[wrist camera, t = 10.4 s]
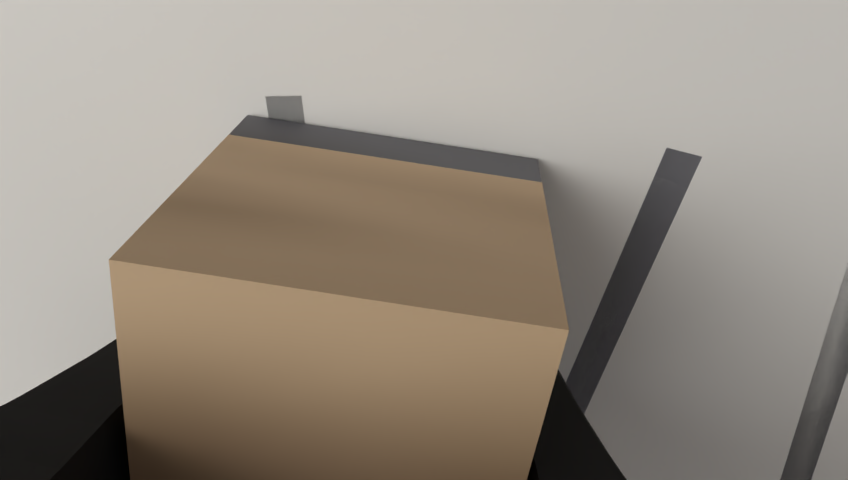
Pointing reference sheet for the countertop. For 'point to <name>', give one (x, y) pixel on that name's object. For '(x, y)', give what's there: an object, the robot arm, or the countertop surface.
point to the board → (501, 133)
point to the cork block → (339, 312)
